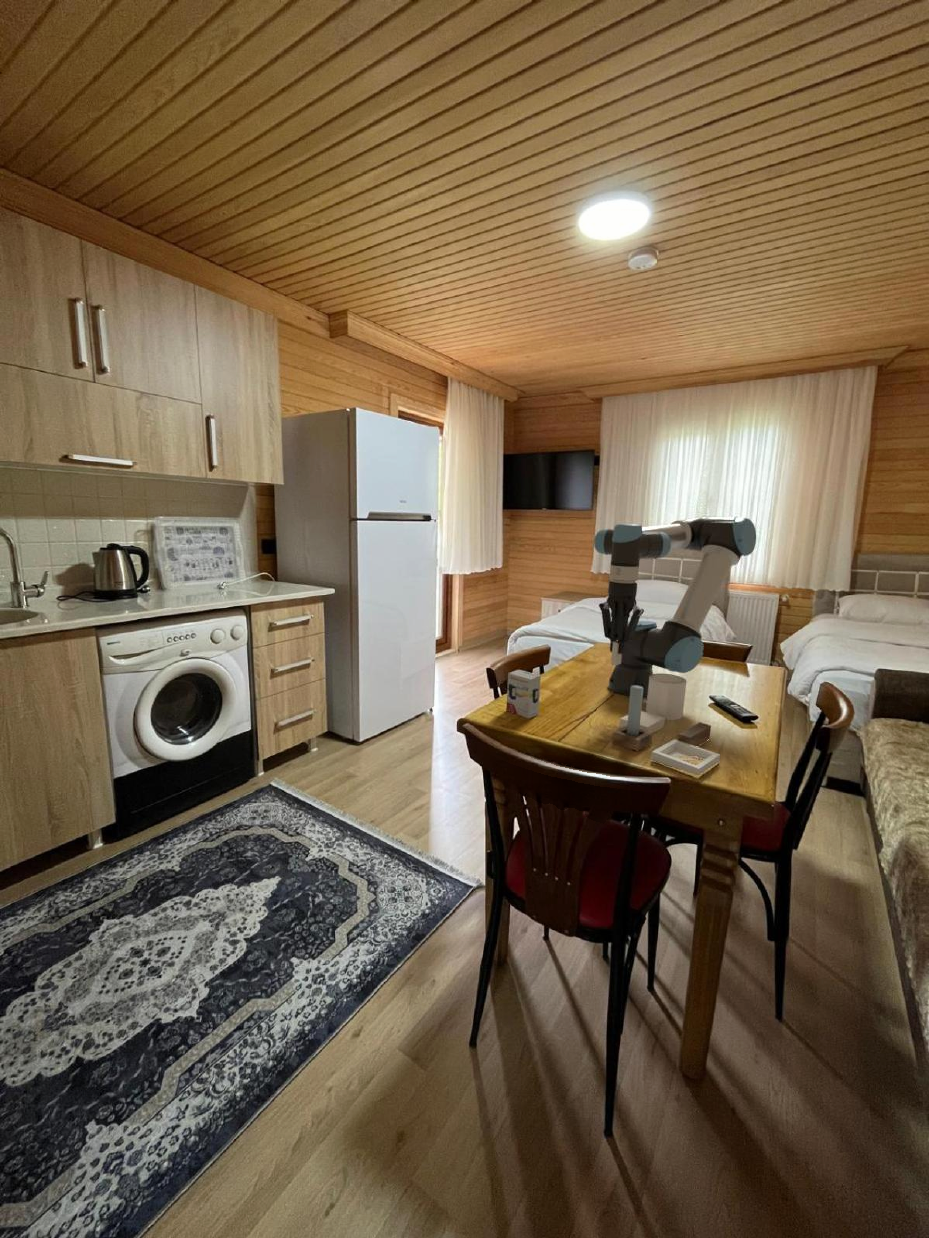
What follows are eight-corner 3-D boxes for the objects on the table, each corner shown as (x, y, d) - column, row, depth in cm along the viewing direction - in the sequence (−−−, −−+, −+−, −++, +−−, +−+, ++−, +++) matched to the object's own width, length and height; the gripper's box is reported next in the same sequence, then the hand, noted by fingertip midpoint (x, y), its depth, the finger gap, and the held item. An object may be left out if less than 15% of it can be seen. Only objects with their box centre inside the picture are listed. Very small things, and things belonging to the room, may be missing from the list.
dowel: (623, 742, 137) (628, 687, 134) (629, 739, 139) (634, 684, 136) (633, 746, 135) (639, 690, 132) (640, 743, 137) (645, 687, 134)
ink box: (505, 710, 157) (506, 672, 155) (515, 706, 161) (517, 669, 158) (529, 718, 151) (531, 679, 149) (539, 714, 155) (541, 675, 153)
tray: (651, 761, 127) (652, 751, 127) (673, 748, 135) (674, 739, 134) (697, 779, 119) (698, 768, 119) (718, 764, 127) (720, 754, 126)
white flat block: (619, 728, 147) (620, 718, 147) (637, 719, 154) (637, 709, 154) (646, 737, 142) (647, 727, 141) (663, 727, 149) (664, 717, 148)
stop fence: (676, 748, 134) (678, 733, 134) (698, 736, 142) (699, 722, 142) (688, 752, 132) (690, 737, 131) (709, 739, 140) (711, 725, 139)
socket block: (612, 742, 137) (613, 731, 137) (626, 735, 142) (627, 724, 141) (637, 751, 132) (638, 740, 131) (651, 744, 137) (652, 733, 136)
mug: (682, 726, 149) (686, 689, 147) (644, 720, 153) (647, 684, 151) (682, 710, 162) (686, 676, 160) (647, 704, 165) (650, 671, 163)
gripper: (595, 579, 149) (588, 661, 154) (637, 584, 140) (629, 671, 144) (610, 577, 154) (603, 657, 159) (652, 583, 145) (643, 667, 149)
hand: (615, 663), depth 151 cm, fingers closed
